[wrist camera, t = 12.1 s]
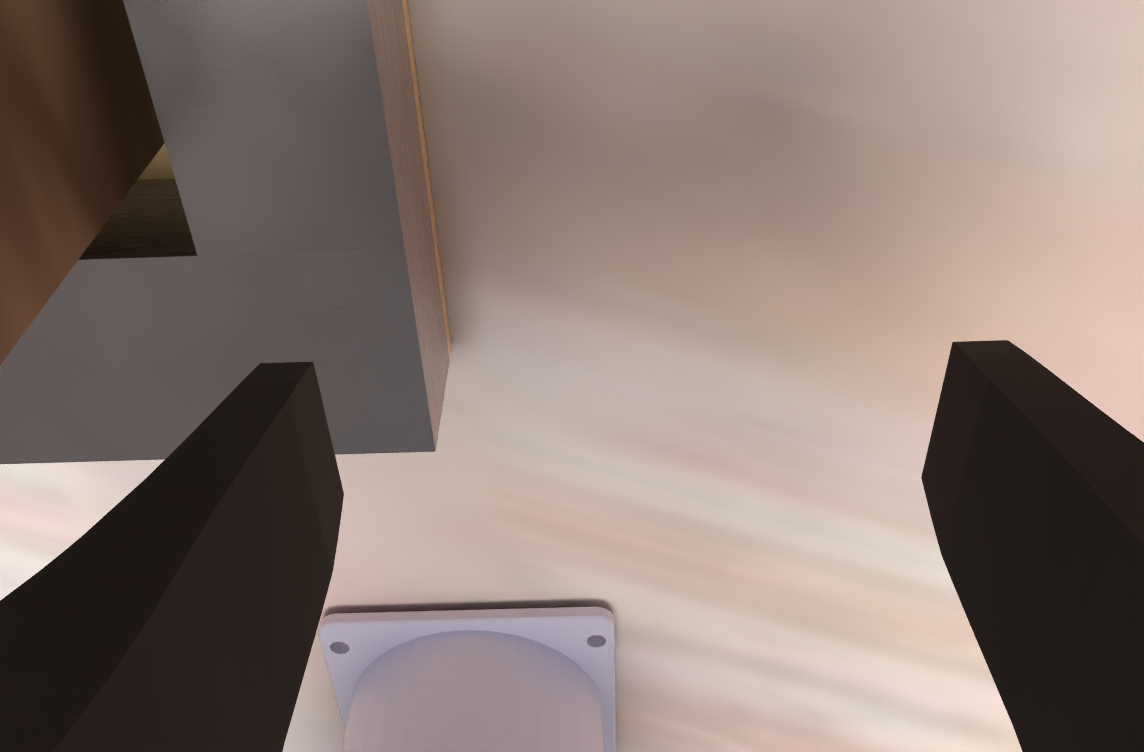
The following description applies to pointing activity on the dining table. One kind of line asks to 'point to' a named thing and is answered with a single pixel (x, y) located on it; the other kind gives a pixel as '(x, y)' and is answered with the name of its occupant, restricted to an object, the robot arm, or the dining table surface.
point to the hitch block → (251, 243)
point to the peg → (64, 142)
